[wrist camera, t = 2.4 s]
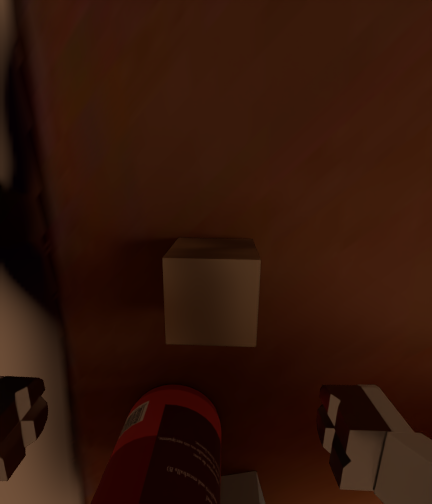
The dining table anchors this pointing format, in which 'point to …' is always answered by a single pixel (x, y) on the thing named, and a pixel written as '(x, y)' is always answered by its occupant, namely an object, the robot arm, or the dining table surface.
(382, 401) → the robot arm
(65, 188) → the dining table surface
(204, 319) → the walnut block
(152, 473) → the canned food
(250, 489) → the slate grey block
